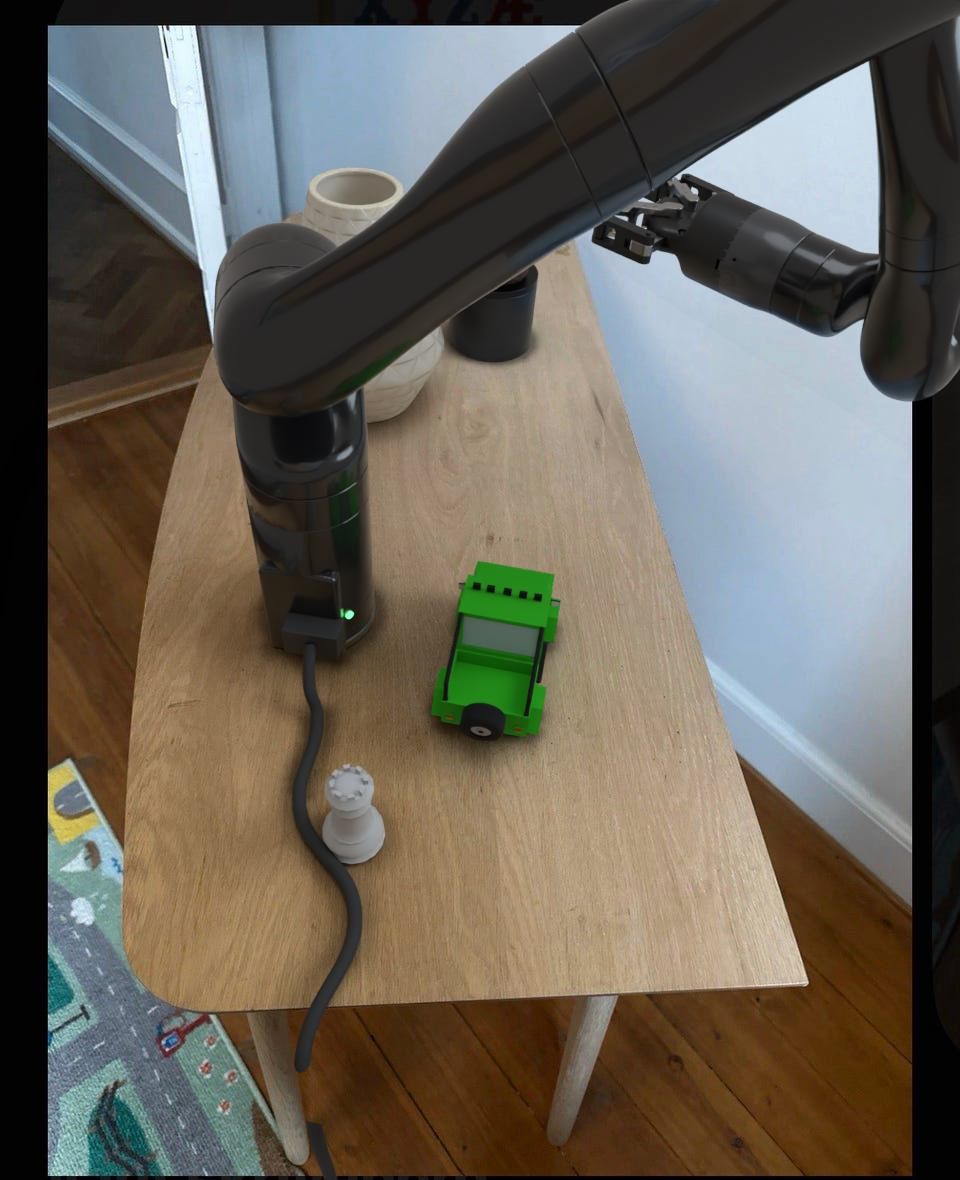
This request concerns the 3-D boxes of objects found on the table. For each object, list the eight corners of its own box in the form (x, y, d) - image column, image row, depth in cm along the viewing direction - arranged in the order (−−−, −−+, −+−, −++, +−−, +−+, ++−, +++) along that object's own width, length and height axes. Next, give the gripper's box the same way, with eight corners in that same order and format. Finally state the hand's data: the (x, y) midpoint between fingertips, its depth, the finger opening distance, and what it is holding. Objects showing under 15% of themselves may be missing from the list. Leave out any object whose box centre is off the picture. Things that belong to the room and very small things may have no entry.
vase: (413, 457, 92) (414, 246, 75) (258, 421, 94) (226, 208, 77) (460, 368, 103) (471, 167, 86) (322, 338, 106) (306, 136, 88)
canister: (525, 367, 104) (533, 297, 98) (442, 355, 105) (444, 285, 98) (534, 323, 111) (542, 255, 104) (456, 312, 111) (459, 244, 105)
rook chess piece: (386, 809, 65) (384, 751, 59) (384, 867, 62) (381, 812, 56) (325, 809, 64) (317, 751, 58) (319, 867, 61) (310, 812, 55)
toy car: (558, 611, 79) (574, 531, 71) (530, 777, 67) (546, 702, 60) (465, 594, 79) (472, 513, 72) (422, 756, 68) (425, 679, 60)
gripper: (804, 188, 76) (653, 128, 83) (714, 236, 69) (557, 166, 76) (776, 269, 82) (637, 207, 89) (690, 321, 75) (546, 249, 81)
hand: (601, 188), depth 82 cm, fingers open, 8 cm apart
